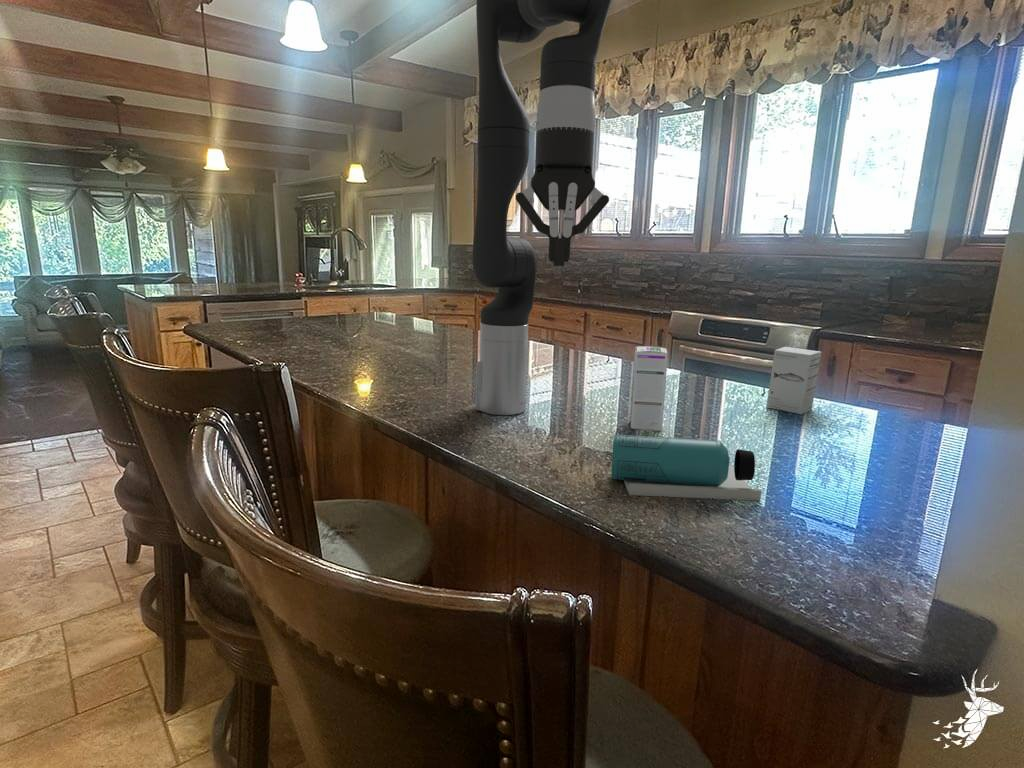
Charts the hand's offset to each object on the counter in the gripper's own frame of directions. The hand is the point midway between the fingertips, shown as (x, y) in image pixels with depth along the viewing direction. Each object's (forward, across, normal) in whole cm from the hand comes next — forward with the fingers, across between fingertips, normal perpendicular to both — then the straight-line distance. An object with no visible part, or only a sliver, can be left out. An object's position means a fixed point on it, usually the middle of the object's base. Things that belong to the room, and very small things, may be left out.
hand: (558, 266), depth 78 cm
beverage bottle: (+26, +7, -4) cm, 27 cm away
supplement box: (+29, +52, +39) cm, 71 cm away
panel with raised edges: (+29, +19, -3) cm, 35 cm away
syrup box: (+29, +18, +22) cm, 41 cm away
